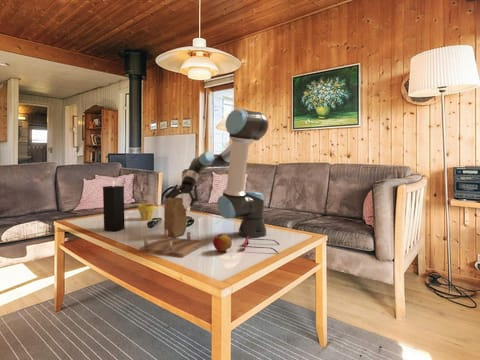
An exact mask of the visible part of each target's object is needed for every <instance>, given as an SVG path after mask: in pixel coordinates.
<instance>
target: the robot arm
mask: <svg viewBox="0 0 480 360" xmlns="http://www.w3.org/2000/svg"><path fill="white" fill-rule="evenodd" d="M225 129H226V132H227V133H228V134H229V135H228V136H229V137H228V138H230V141H231V143H230V144H229V145H228V146H227V147H226V148H225V149H224V150H223V151H222V152H221V153H219V154H218V153H217V154H215V153H214V154H213V152H210V151H204V152H202V153H201V154H200V155H199V156H196V157H194V158H193V159H192V160H191V162H190V165H189V167H188V169H187V171H186V173H185V175H184V177H183V179H182V180H181V185H179V184H176V185H175V186H174V187H173V188H172V189H171V190H170V191H169V192H168V193H167V194H165V198H166V199H169V198H177V197H178V196H179V195H182V194H183V195H185V194H189V197H190V199H189V201H188V203H187V205H186V208H185V210H186V213H190V211H191V208H192V207H193V206H194V205H195V202H199V201H200V200H199V194H198V193H199V192H198V191H199V188H198V186H197V185H196V184H197V182H198V179H199V177H200V174H201V173H202V172H203V171H204V170H205V169H207V168H227V167H228V172H227V179H226V180H227V183H226V188H225V189H224V190H223V191H222V195H221V196H219V197H218V198H217V202H216V207H217V211H218V213H219V215H220V216H221V217H222V218H223V219H227V220H228V219H232V220H233V219H236V218H241V222H240V225H239V226H238V227H239V228H238V235H239V236H241V237H245V238H247V237H246V236H248V235H249V236H248V237H249V238H260V237H261V236H262V237H264V235H265V236H266V235H267V228H266V224H265V221H264V209H265V208H264V206H265V205H264V204H265V200H264V197H265V196H264V194H263V193H262V192H255V191H247V190H245V180H246V173H247V165H248V156H249V148H250V145H252V144H253V143H254V142H255V141H259V140H261V139H262V138H263V137H264V136H265V135H266V133H267V132H268V129H269V121H268V118H267V117H266V115H265V114H264V113H262V112H261V111H252V110H247V109H234V110H232V111H230V113H228V115H227V117H226V119H225ZM192 191H193V192H194V196H193V193H192ZM166 199H165V200H166ZM163 209H165V205H164V206H163Z"/></svg>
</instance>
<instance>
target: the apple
mask: <svg viewBox="0 0 480 360" xmlns="http://www.w3.org/2000/svg"><path fill="white" fill-rule="evenodd" d="M212 244H213V247H214V248H215V250H216V251H217V252H220V253H222V252H225V251H227V250H229V249H231V247H232V244H233V243H232V239H231V237H230V236H229V235H228V234H226V233H223V232H222V233H219V234H217V235H216V236H214V237H213V240H212Z"/></svg>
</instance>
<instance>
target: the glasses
mask: <svg viewBox="0 0 480 360" xmlns="http://www.w3.org/2000/svg"><path fill="white" fill-rule="evenodd" d="M248 236H249V235H248ZM248 236H246V237H245V239H244V242H243V243H244V245H242V248H243V250H244V251H246V248H257V249H271V250H273V252H275V253H277V252H278V250H276V249H274V248H273V247H267V246H266V247H265V246H251V245H250V246H248V245H249V244H250V243H249V240H252V237H248ZM253 240H254V241H255V240H257V241H258V240H259V241H269V239H264V238H253ZM271 241H272V242H274V243H276V244H277V245H279V244H280V243H279V242H278V241H276V240H275V239H271Z"/></svg>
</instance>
